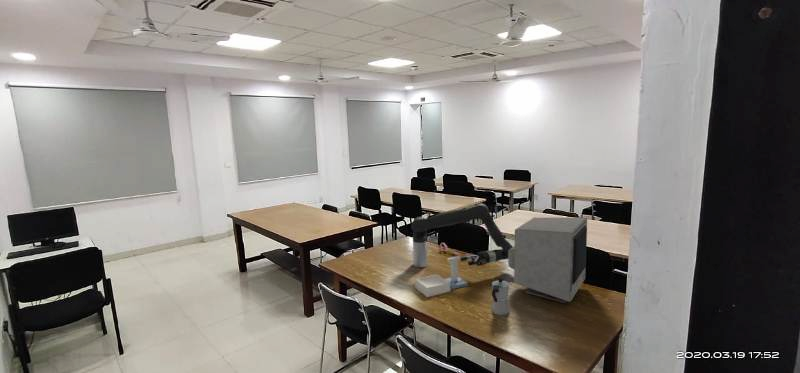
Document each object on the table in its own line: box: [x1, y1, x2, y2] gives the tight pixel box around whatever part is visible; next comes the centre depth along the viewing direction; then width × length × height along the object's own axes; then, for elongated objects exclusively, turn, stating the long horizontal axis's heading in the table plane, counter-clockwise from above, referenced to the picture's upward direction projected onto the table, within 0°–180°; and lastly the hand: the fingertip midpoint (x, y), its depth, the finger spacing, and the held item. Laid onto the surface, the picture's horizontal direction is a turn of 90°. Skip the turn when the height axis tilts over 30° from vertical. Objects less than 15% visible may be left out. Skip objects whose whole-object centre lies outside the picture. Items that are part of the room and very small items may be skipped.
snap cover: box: [444, 255, 468, 290], centre depth 219 cm, size 11×11×16 cm
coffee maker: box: [491, 275, 511, 316], centre depth 183 cm, size 15×9×18 cm, turn 141°
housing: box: [414, 274, 451, 298], centre depth 213 cm, size 15×15×5 cm
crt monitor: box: [507, 217, 588, 304], centre depth 203 cm, size 35×37×40 cm
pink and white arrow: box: [439, 242, 462, 257], centre depth 274 cm, size 7×1×20 cm
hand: (464, 261), depth 222 cm, fingers open, 8 cm apart
